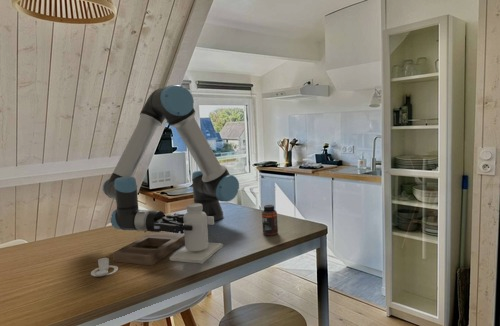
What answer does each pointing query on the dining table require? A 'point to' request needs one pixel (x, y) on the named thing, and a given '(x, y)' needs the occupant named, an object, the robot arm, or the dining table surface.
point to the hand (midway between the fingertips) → (208, 224)
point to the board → (196, 254)
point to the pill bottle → (196, 239)
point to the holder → (149, 256)
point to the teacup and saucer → (103, 268)
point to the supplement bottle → (269, 220)
